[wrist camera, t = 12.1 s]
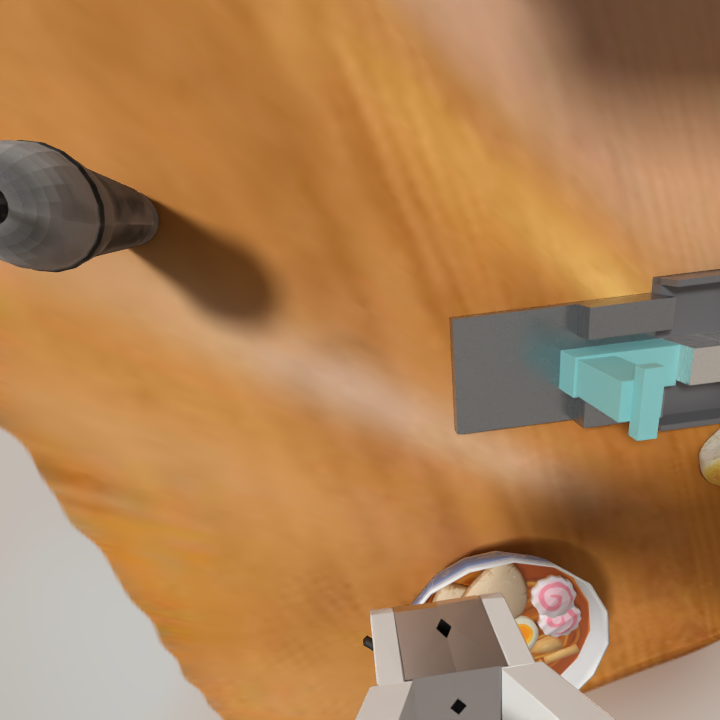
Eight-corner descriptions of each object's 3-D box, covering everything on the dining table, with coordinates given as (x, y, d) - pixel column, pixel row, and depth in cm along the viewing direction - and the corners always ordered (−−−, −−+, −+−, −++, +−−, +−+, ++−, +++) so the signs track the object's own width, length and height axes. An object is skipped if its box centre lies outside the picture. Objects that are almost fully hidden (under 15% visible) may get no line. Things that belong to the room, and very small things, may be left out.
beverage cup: (135, 278, 36) (-83, 324, 17) (67, 211, 35) (-261, 180, 15) (193, 223, 35) (31, 208, 16) (127, 151, 34) (-144, 38, 14)
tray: (653, 277, 40) (678, 280, 37) (743, 266, 40) (774, 268, 37) (639, 418, 44) (660, 431, 41) (720, 407, 44) (747, 419, 41)
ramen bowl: (612, 589, 51) (663, 653, 43) (474, 693, 54) (498, 770, 46) (484, 468, 44) (516, 517, 37) (337, 595, 48) (339, 665, 40)
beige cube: (660, 338, 40) (694, 348, 36) (694, 334, 40) (732, 344, 37) (656, 371, 41) (689, 385, 37) (689, 367, 41) (726, 380, 38)
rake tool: (561, 340, 40) (629, 370, 31) (661, 328, 40) (757, 355, 31) (558, 397, 41) (622, 442, 32) (654, 385, 42) (744, 427, 33)
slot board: (449, 317, 39) (458, 323, 36) (651, 292, 40) (676, 296, 37) (454, 430, 43) (463, 443, 40) (640, 405, 43) (662, 417, 41)
